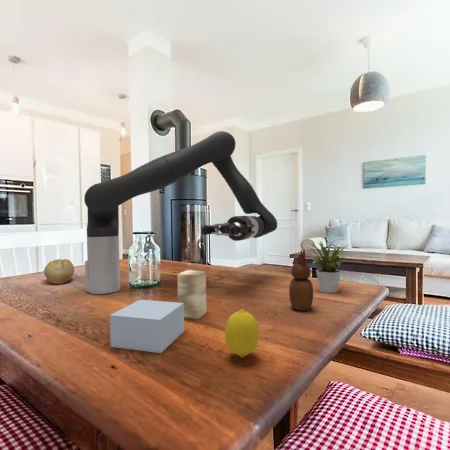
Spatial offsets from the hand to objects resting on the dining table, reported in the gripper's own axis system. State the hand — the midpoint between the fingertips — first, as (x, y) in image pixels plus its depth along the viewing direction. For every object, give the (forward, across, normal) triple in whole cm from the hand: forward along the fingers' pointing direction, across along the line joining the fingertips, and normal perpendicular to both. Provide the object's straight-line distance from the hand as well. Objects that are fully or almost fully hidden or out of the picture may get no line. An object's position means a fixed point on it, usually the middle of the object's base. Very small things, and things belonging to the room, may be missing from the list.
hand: (216, 231), depth 80 cm
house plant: (-25, +23, +20) cm, 39 cm away
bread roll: (+3, -65, +19) cm, 68 cm away
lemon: (+25, +19, +19) cm, 37 cm away
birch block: (+11, 0, +19) cm, 22 cm away
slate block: (+26, 0, +19) cm, 33 cm away
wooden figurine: (-5, +21, +20) cm, 29 cm away
